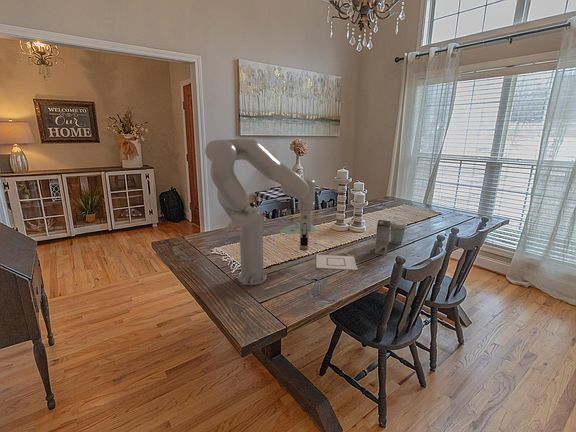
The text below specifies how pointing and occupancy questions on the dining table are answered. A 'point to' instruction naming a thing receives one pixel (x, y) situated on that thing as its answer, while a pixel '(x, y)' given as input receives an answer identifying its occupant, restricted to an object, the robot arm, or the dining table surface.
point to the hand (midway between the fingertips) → (304, 243)
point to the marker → (307, 242)
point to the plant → (295, 229)
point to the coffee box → (382, 237)
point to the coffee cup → (397, 232)
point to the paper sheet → (336, 262)
